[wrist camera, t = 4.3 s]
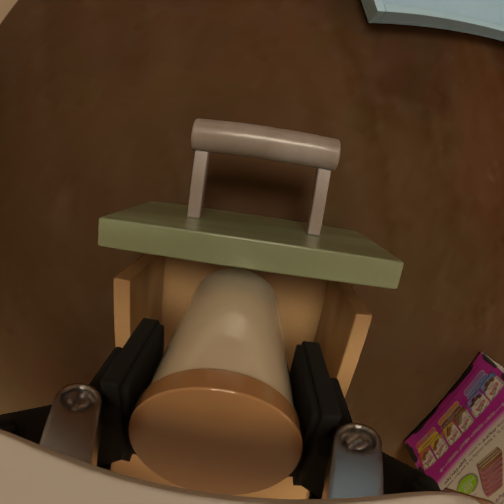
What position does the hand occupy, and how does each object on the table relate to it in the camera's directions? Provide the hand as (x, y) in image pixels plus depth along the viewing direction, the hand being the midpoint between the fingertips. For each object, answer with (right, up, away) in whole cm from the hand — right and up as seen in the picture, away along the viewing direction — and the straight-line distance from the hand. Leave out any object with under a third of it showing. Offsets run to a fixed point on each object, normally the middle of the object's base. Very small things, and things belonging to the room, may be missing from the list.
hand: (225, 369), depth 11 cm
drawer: (0, +2, +9) cm, 9 cm away
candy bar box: (+20, -10, +12) cm, 25 cm away
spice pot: (0, +1, +5) cm, 5 cm away
